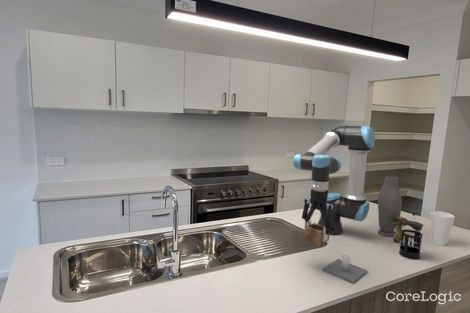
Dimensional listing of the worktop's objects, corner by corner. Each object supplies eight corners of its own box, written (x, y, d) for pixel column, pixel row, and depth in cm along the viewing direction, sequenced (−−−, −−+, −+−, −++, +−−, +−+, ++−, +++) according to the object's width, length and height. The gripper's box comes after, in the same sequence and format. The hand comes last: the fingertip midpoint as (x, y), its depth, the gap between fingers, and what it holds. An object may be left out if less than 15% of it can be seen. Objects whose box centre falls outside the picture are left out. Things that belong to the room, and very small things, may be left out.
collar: (304, 239, 134) (305, 226, 133) (313, 234, 139) (314, 222, 139) (319, 245, 128) (320, 232, 127) (328, 240, 134) (329, 228, 133)
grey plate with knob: (322, 270, 131) (323, 255, 130) (338, 260, 140) (339, 247, 139) (353, 283, 121) (354, 267, 120) (367, 272, 130) (368, 257, 129)
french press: (413, 261, 142) (418, 216, 139) (394, 253, 150) (398, 210, 147) (425, 256, 148) (431, 212, 145) (407, 249, 156) (411, 207, 153)
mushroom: (405, 247, 158) (408, 220, 156) (387, 243, 162) (390, 217, 160) (406, 241, 166) (408, 216, 164) (389, 237, 170) (391, 213, 168)
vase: (393, 239, 167) (399, 180, 163) (370, 233, 177) (376, 176, 173) (401, 234, 176) (407, 178, 172) (379, 228, 186) (385, 174, 182)
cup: (452, 243, 165) (456, 214, 162) (449, 249, 157) (453, 218, 155) (429, 237, 172) (432, 209, 170) (425, 242, 165) (428, 213, 163)
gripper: (295, 186, 135) (292, 232, 139) (336, 195, 120) (333, 247, 123) (304, 184, 140) (302, 228, 144) (345, 192, 125) (341, 242, 128)
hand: (316, 237), depth 134 cm, fingers closed on collar, 8 cm apart
